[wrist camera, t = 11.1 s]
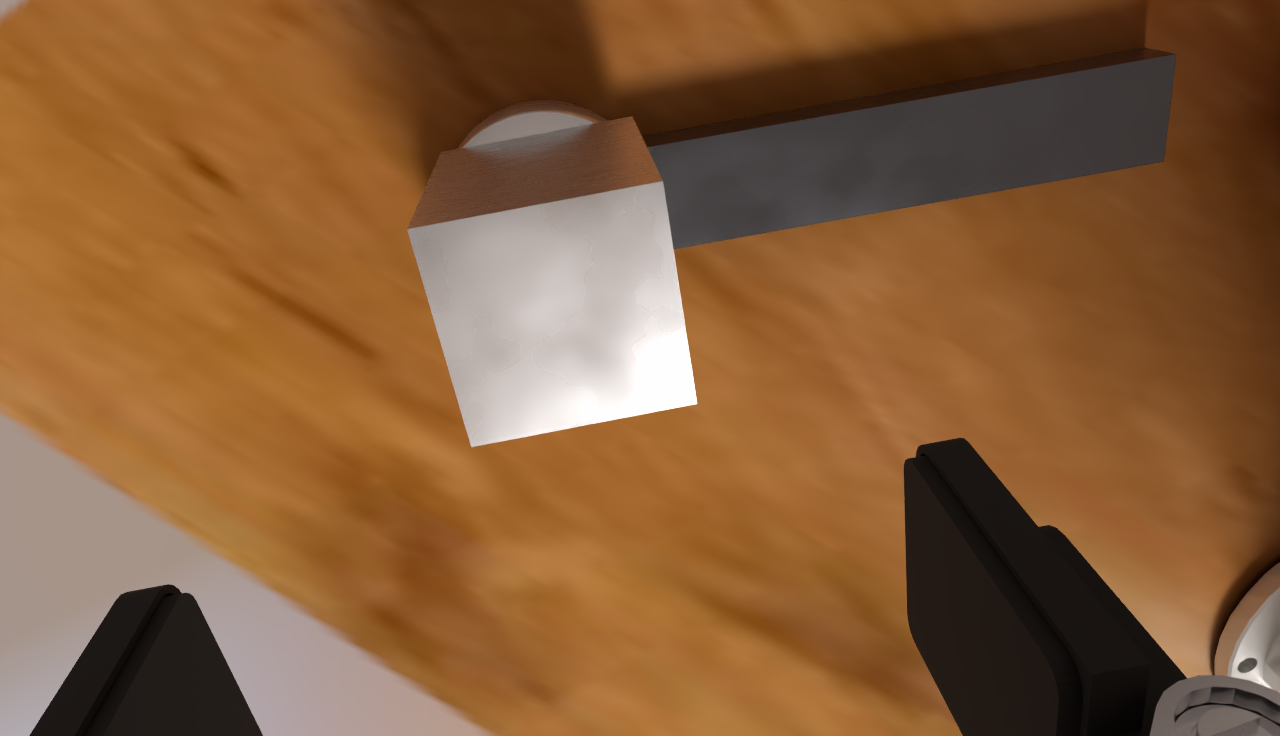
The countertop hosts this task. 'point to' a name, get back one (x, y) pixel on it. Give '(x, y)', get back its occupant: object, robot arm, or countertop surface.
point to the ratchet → (892, 145)
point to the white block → (553, 281)
